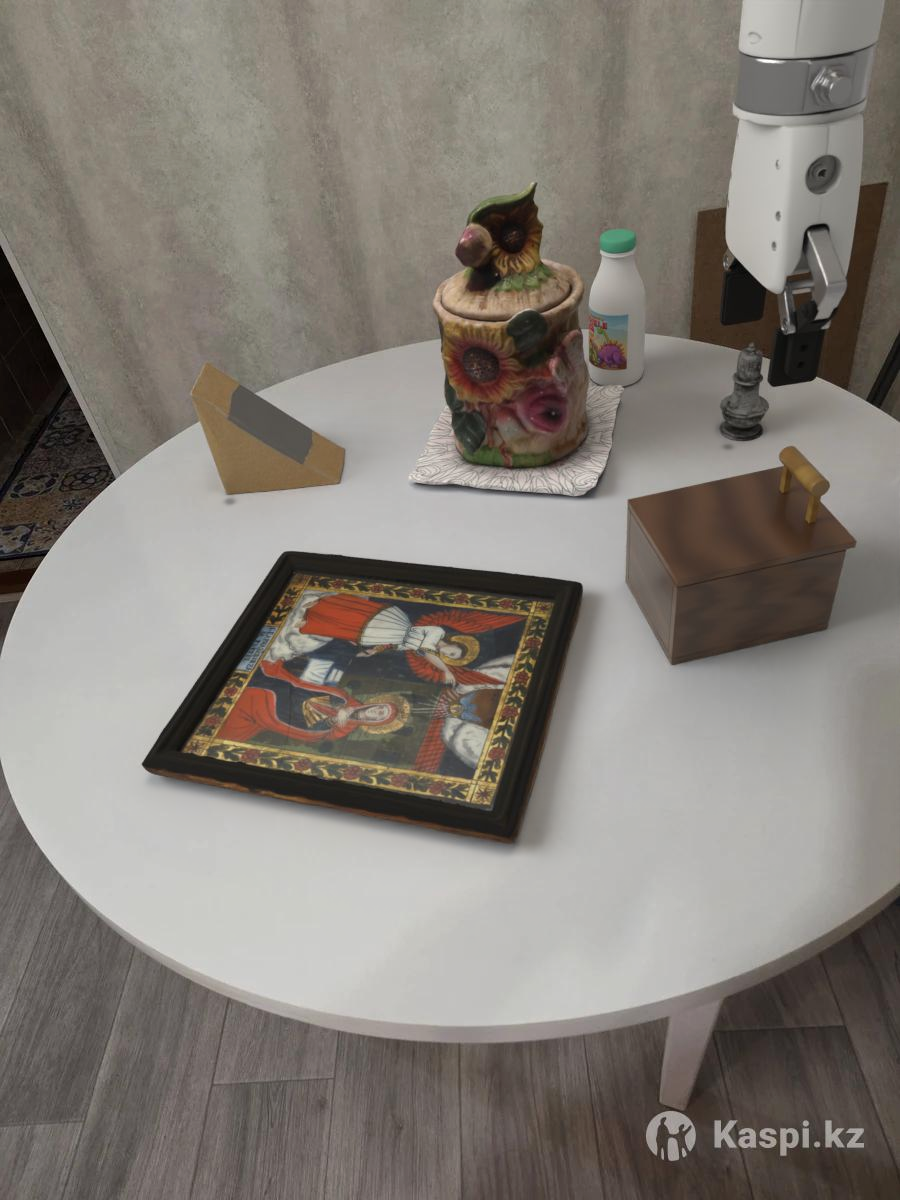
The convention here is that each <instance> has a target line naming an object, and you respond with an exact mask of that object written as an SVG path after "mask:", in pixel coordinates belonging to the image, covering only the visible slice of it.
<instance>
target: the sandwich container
mask: <svg viewBox="0 0 900 1200" xmlns="http://www.w3.org/2000/svg"><path fill="white" fill-rule="evenodd" d="M190 398H191V401H192V403H193V406H194V409H195V412H196V416H197V417H198V420H199V423H200V426H201V428H202V432H203V434H204V438H205V440H206V443H207V445H208V448H209V451H210V454H211V456H212V459H213V462H214V465H215V467H216V469H217V470H216V471H217V472H218V476H219V478H220V481H221V484H222V486H223V489H224V492H225V495H236V494H249V493H259V492H273V491H283V490H290V489H291V490H292V489H298V488H299V489H301V488H310V487H317V486H326V485H327V486H328V485H335V484H340V480H341V476H342V472H343V468H344V463H345V462H344V461H345V448H344V447H342V446H340V445H338V444H337V443H335V442H333V441H332V440H330V439H328V438H327V437H325V436H323V435H322V434H321V433H319V432H317V431H316V430H314V429H312V428H310V427H309V426H307V425H306V424H304V423H303V422H301V421H299V420H297V419H296V418H294V417H293V416H291V415H290V414H288V413H286V412H285V411H283V410H282V409H280V407H279V408H278V407H277V406H276V405H274V404H272V403H271V402H269V401H267V400H266V399H265V398H263V397H262V396H259V395H258V394H257V393H255V392H253V391H252V390H250V389H249V388H247V387H246V386H244V385H243V384H241V383H239V381H237V380H235V379H233V378H232V377H230V376H229V375H227V374H226V373H224V372H223V371H221V370H219V369H218V368H217V367H215V366H213V365H212V364H211V363H209V362H208V361H205V362H204V364H203V365H202V368H201V370H200V373H199V375H198V377H197V378H196V381H195V383H194V384H193V387H192V389H191V391H190Z"/></svg>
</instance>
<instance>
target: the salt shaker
mask: <svg viewBox="0 0 900 1200" xmlns="http://www.w3.org/2000/svg"><path fill="white" fill-rule="evenodd" d="M763 358H764V357H763V352H762V351H761V350H760V349H759V348H757V347H756V345H755V342H753V341H751V342H750V343H749V344H748V347H745V348H743V349H741V350H740V352H739V353H738V355H737V363H736V370H735V373H733V374H732V380H733V381H734V383H733V391H732V393H731V394H730V395H727V396H724V398H723V399H721V400H720V403H719V408H720V410H721V414H722V417H723V420H724V421H723V422H722V423H721V424H720V426H719V432H720V433H721V435H722V436H723V437H725V438H726V439H729V440H733V441H738V442H746V441H753V440H756V439H758V438H759V437H760V436H761V435H763V432H764V427H763V426H762V424H761V422H762V421H763V419H764V417H765V415H766V413H767V412H768V411H769V409H770V404H769V402H768V400H767V399H766V398H765V397H763V396H760V392H759V391H760V385H761V383H762V382H763V380H764V376H763V374H762V373H761V371H762V367H763Z"/></svg>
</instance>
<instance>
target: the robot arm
mask: <svg viewBox="0 0 900 1200" xmlns="http://www.w3.org/2000/svg"><path fill="white" fill-rule="evenodd" d="M885 4H886V0H742V5H741V14H740V25H739V26H740V27H739V35H738V36H739V37H738V50H737V60H736V69H735V81H734V91H733V92H734V93H733V101H732V110H731V112H732V115H733V116H734V117H736V118H737V119H739V120H738V125H737V131H736V137H735V143H734V150H733V155H732V162H731V170H730V176H729V184H728V191H727V194H726V213H725V229H724V238H725V241H726V245H727V249H726V250H725V252H724V254H723V258H722V264H723V268H724V270H725V271H723V275H722V286H721V294H720V295H721V296H720V305H719V316H718V317H719V318H718V321H719V322H720V324H721V325H722V326H725V327H727V326H734V325H740V324H745V323H747V324H748V323H753V322H758V321H760V320H762V318H763V317H764V311H765V304H766V297H767V296H766V295H767V290H768V291H769V292H771V293H773V294H775V295H776V301H777V307H778V315H779V322H780V327H778V328H774V330H773V335H772V336H773V337H772V343H771V350H770V355H769V357H770V358H769V363H768V364H769V365H768V370H767V371H768V372H767V377H766V381H767V383H768V384H769V385H770V386H771V388H777V387H784V386H789V385H796V384H803V383H809V382H813V381H814V380H815V379H816V378H817V377H818V371H819V367H820V362H821V356H822V355H821V354H822V351H823V350H822V349H823V344H824V339H825V335H826V334H825V333H826V330H827V329H829V328H830V326H831V324H832V319H834V318H835V317H836V315H837V312H838V311H839V304H840V302H841V301H842V298H843V297H844V295H845V293H846V292H847V287H848V281H847V274H848V271H849V267H850V260H851V256H852V255H851V254H852V249H853V244H854V243H853V242H854V235H855V229H856V221H857V214H858V209H859V207H858V206H859V198H860V189H861V180H862V169H863V156H864V155H863V153H864V116H863V114H861V112H863V111H864V110H865V108H866V106H867V101H868V95H869V90H870V83H871V80H872V79H871V78H872V72H873V67H874V62H875V56H876V52H877V46H878V40H879V37H880V32H881V25H882V19H883V15H884V9H885ZM807 273H810V277H806V278H799V279H794V280H789V277H790V276H796V275H801V274H807ZM804 293H810V297H811V299H810V300H805V301H804V302H803V303H802V304H801V305H800V306H799V307H798V308H797V309H796V307H795V301H794V300H795V299H794V295H798V294H804Z"/></svg>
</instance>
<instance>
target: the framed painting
mask: <svg viewBox="0 0 900 1200" xmlns="http://www.w3.org/2000/svg"><path fill="white" fill-rule="evenodd" d="M583 594H584V586H583V584H582V582H579V581H574V580H567V579H560V578H554V577H548V576H547V577H545V576H537V575H529V574H520V573H512V572H505V571H495V570H486V569H485V570H483V569H475V568H473V569H472V568H463V567H455V566H446V565H445V566H444V565H435V564H426V563H414V562H406V561H395V560H387V559H376V558H370V557H369V558H367V557H359V556H358V557H357V556H349V555H343V554H333V553H319V552H310V551H309V552H308V551H299V550H298V551H297V550H285V551H283V552H282V553H281V554H280V555H279V557H278V558H277V560H276V561H275V562H274V564H273V565H272V566H271V569H269V572H268V573H267V575H265V578H264V579H263V580H262V582H261V584H260V585H259V586H258V588H257V590H256V591H255V592H254V594H253V596H252V597H251V599H250V600H249V602H248V603H247V604H246V606H245V608H244V609H243V611H242V612H241V614H240V615H239V616H238V618H237V619H236V621H235V623H234V624H233V626H232V627H231V629H230V630H229V632H228V633H227V635H226V636H225V638H224V639H223V641H222V642H221V643H220V645H219V647H218V648H217V649H216V651H215V652H214V654H213V655H212V657H211V659H210V660H209V661H208V663H207V665H206V666H205V668H204V669H203V671H202V672H201V673H200V675H199V677H198V678H197V680H196V681H195V683H194V684H193V685H192V687H191V689H190V690H189V691H188V693H187V695H186V696H185V697H184V698H183V701H181V703H180V704H179V706H178V708H177V709H176V710H175V711H174V714H173V715H172V717H171V718H170V719H169V721H168V722H167V723H166V725H165V726H164V727H163V729H162V730H161V732H160V733H159V735H158V737H157V738H156V740H155V742H154V744H153V745H152V746H151V748H150V749H149V751H148V753H147V755H146V756H145V758H144V759H143V761H142V762H141V766H142V767H143V769H144V770H145V771H146V772H148V773H149V774H152V775H156V776H160V777H161V776H162V777H167V778H172V779H178V780H184V781H188V782H194V783H198V784H203V785H208V786H212V787H213V786H214V787H219V788H224V789H228V790H229V789H230V790H233V791H234V790H235V791H240V792H242V793H243V792H244V793H248V794H254V795H261V796H265V797H270V798H275V799H277V800H278V799H279V800H282V801H283V800H284V801H289V802H293V803H298V804H305V805H313V806H321V807H326V808H332V809H336V810H341V811H345V812H349V813H353V814H357V815H361V816H366V817H371V818H375V819H376V818H377V819H382V820H389V821H395V822H400V823H406V824H412V825H416V826H420V827H425V828H430V829H432V830H433V829H434V830H437V831H441V832H445V833H450V834H455V835H461V836H467V837H472V838H478V839H483V840H488V841H493V842H498V843H502V844H513V843H515V841H516V840H517V838H518V835H519V831H520V828H521V824H522V822H523V819H524V816H525V812H526V809H527V806H528V801H529V798H530V796H531V793H532V789H533V786H534V783H535V779H536V776H537V772H538V770H539V765H540V762H541V757H542V753H543V751H544V747H545V743H546V739H547V735H548V730H549V726H550V721H551V717H552V713H553V710H554V705H555V701H556V697H557V694H558V690H559V686H560V683H561V680H562V675H563V672H564V671H563V670H564V668H565V663H566V659H567V653H568V649H569V645H570V643H571V639H572V635H573V633H574V631H575V628H576V624H577V621H578V617H579V613H580V609H581V604H582V599H583Z"/></svg>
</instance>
